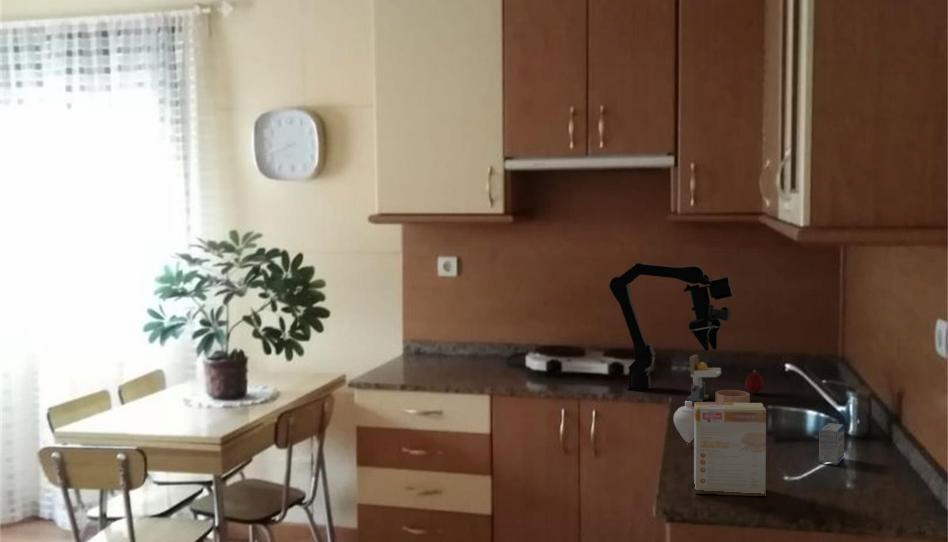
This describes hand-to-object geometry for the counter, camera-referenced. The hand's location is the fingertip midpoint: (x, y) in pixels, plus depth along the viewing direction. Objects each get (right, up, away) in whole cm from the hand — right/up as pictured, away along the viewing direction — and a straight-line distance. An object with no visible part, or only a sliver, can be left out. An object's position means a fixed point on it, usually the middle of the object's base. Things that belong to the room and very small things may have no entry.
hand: (711, 350), depth 304 cm
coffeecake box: (-21, -23, -97) cm, 102 cm away
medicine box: (+11, -21, -75) cm, 78 cm away
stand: (-5, -15, -5) cm, 17 cm away
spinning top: (-21, -20, -60) cm, 67 cm away
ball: (-5, -5, -6) cm, 9 cm away
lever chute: (-3, -12, -6) cm, 14 cm away
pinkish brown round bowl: (+4, -16, -10) cm, 19 cm away
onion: (+15, -15, +2) cm, 21 cm away
